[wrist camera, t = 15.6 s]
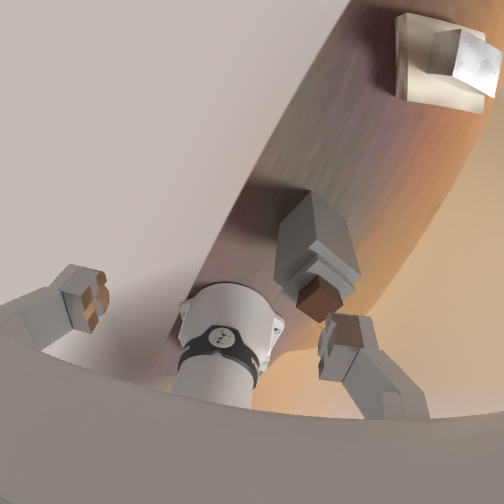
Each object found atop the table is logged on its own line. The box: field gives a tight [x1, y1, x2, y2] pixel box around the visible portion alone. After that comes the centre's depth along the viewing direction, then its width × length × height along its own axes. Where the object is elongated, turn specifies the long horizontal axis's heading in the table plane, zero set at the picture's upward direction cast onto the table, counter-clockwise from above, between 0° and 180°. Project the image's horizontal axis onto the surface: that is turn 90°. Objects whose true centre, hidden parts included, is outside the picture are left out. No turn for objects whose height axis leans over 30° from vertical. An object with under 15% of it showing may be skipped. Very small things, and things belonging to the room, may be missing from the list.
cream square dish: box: [395, 13, 485, 115], centre depth 29 cm, size 11×11×5 cm
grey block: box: [426, 29, 503, 98], centre depth 24 cm, size 6×6×7 cm
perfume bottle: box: [273, 191, 361, 323], centre depth 38 cm, size 7×7×18 cm
